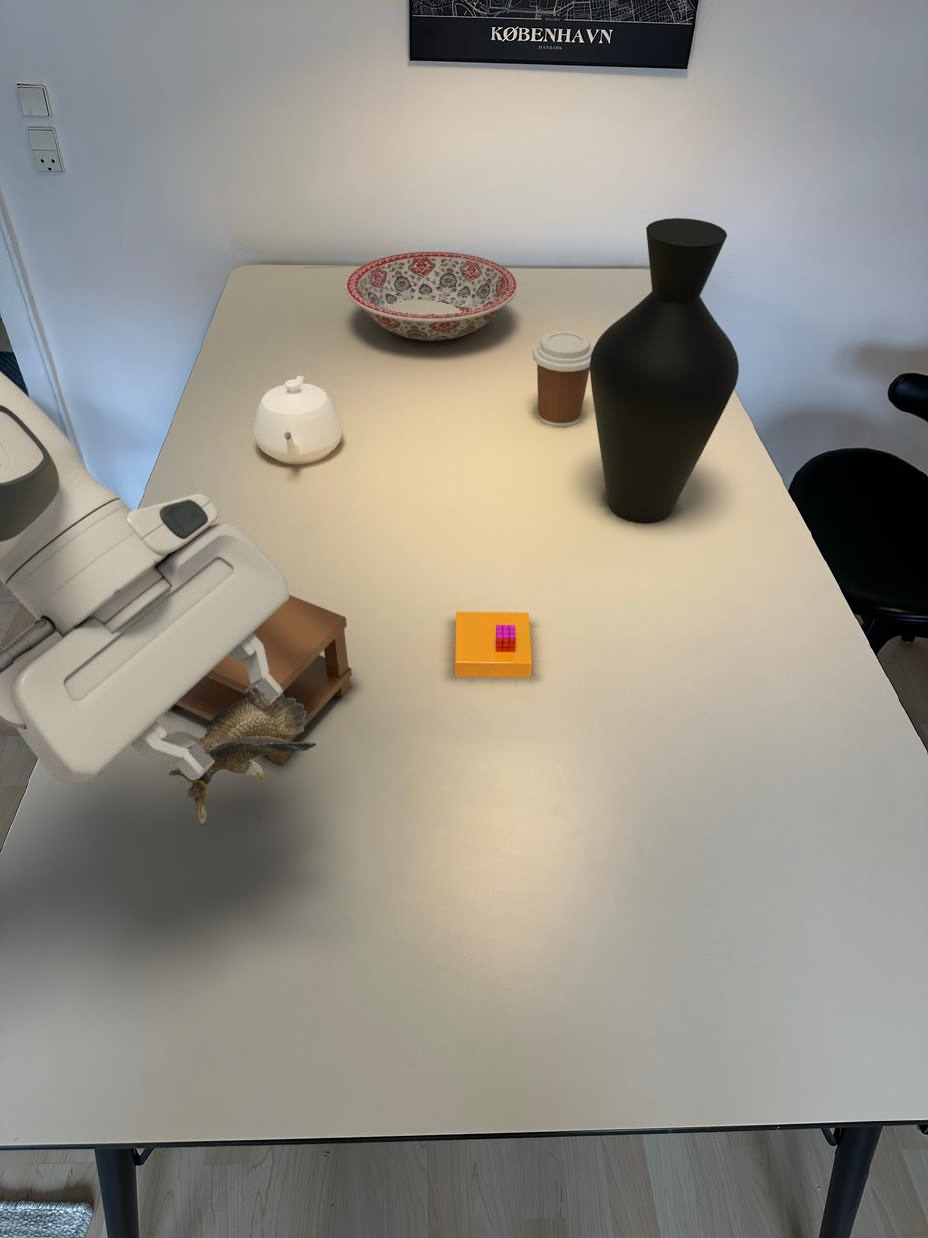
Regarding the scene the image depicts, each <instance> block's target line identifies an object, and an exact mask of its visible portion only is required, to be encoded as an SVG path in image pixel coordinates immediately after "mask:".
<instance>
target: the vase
mask: <svg viewBox="0 0 928 1238" xmlns="http://www.w3.org/2000/svg"><path fill="white" fill-rule="evenodd" d="M645 231H646V242H647V253H648V262H649V274H650V283H651V292H650V293H648V294H647V295H646V296H645V297H644V298H643V299H642V300H641V301H640V302H638V303H637V305H635V306H634V307H633V308H631V310H629V311H627V313H625V314H624V315H623V316H621V317H620V318H619V319H618V320H616V321H615V322H613V323H612V324H611V325H610V326H609V327H608V328H606V330H605V331H604V332H603V333H602V334H601V335H600V336H599V337H598V339H597V341H596V343H595V345H594V346H593V347H592V348H593V351H592V354H591V359H590V366H589V367H590V370H589V375H590V376H589V377H590V386H591V394H592V401H593V409H594V415H595V423H596V429H597V438H598V444H599V452H600V457H601V458H600V459H601V464H602V472H603V478H604V486H605V487H604V488H605V494H606V500H607V501H606V502H607V507H608V508H609V510H610V512H612V513H613V514H614V515H615V516H616V517H618V518H619V519H622V520H624V521H626V522H631V523H634V524H644V525H645V524H647V525H648V524H649V525H650V524H654V523H655V524H656V523H659V522H662V521H664V520H665V519H667V518H668V517H669V516H670V515H671V514H672V512H673V510H674V508H675V506H676V504H677V502H678V500H679V499H680V496H681V494H682V492H683V490H684V488H685V486H686V485H687V483H688V481H689V479H690V477H691V475H692V474H693V471H694V469H695V468H696V465H697V464H698V462H699V461H700V458H701V456H702V454H703V452H704V450H705V448H706V446H707V444H708V442H709V441H710V439H711V437H712V434H713V433H714V431H715V429H716V427H717V425H718V423H719V421H720V419H721V417H722V415H723V414H724V412H725V409H726V407H727V406H728V403H729V401H730V399H731V397H732V395H733V392H734V390H735V388H736V386H737V383H738V379H739V374H740V366H739V359H738V354H737V351H736V350H735V347H734V345H733V343H732V342H731V340H730V338H729V336H728V335H727V334H726V333H725V332H724V330H723V329H722V328H721V326H720V325H719V324H718V322H717V321H716V319H715V318H714V316H713V315H712V314H711V312H710V311H709V309H708V307H707V306H706V304H705V302H704V301H703V299H702V298H701V297H702V296H701V295H702V293H703V290H704V288H705V286H706V284H707V282H708V279H709V277H710V275H711V272H712V270H713V268H714V266H715V263H716V261H717V259H718V257H719V255H720V253H721V251H722V249H723V246H724V245H725V242H726V240H727V237H728V233H727V231H726V230H725V229H724V228H723V227H721V226H719V225H717V224H714V223H712V222H709V221H705V220H701V219H694V218H684V217H683V218H682V217H674V218H664V219H658V220H654V221H653V222H651V223H649V224H648V225H647V226H646V227H645Z"/></svg>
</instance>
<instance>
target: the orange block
mask: <svg viewBox="0 0 928 1238" xmlns="http://www.w3.org/2000/svg"><path fill="white" fill-rule="evenodd" d="M530 626H531V625H530V613H529V612H523V611H522V612H518V611H515V612H512V611H511V612H509V611H507V612H506V611H505V612H504V611H456V613H455V651H454V653H455V654H454V660H455V661H454V676H455V677H456V678H457V677H458V678H459V677H461V678H462V677H464V678H466V677H467V678H468V677H469V678H531V677H532V671H533V655H532V644H531V643H532V642H531V629H530V628H531V627H530Z"/></svg>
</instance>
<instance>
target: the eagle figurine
mask: <svg viewBox="0 0 928 1238" xmlns="http://www.w3.org/2000/svg"><path fill="white" fill-rule="evenodd" d="M295 701H296V700H295V699H294V698H284V695H283V694H281V695H280V696H279V697H278V699H277V700H275V701H274V702H273V703H272V704H271V705H270V706H269V707H266V708H265V709H260V708H258V707H257V706H256V705H255V704H254V700H252V699H250V698H249V697H246V698H244V699H242V700H240V701H239V702H236V703H235V704H233V705H231V706H229V707H228V708H225V709H223V710H222V711H220V712H219V713H218V714H216V715H215V717H214V718H213V719H212V720H210V721H209V723H208V725H207V729H206V733H205V734H204V737H200V738H199V737H197V736H195V735H193V734H192V733H190V732H187V731H185V730H183V731H182V730H179V731H176V732H173V733H171V734H167V736H166V737H165V738H164V739H162V741H165V742H168V743H171V744H174V745H177V746H180V747H183V748H187V747H189V746H191V745H192V746H193V745H194V744H196V743H198V742H199V743H200V744H201V745H202V746H203V747H204V748H205V750H206V754H210V755H211V756H212V757H213V759H214V761H215V762H214V764H213V765H212V766H211V767H210V768H209V769H208V770H207V771H206V772H205V773H204V774H203V775H202V776H201V777H200V778H199V779H196V780H194V781H192V780H190V779H188V778H187V777H186V776H185V775H184V774H183V773H182V772H181V771H180V770H179V769H178V767H177V766H176V769H173V770H171V771H169V773H168V775H169V776H172V777H173V776H181V777H182V778H183V779H185V780H187V781H188V782H191V783H192V786H191V787H190V788H189V789H188V790H187V796H188V797H190V798H192V799H193V800H194V804H195V806H196V810H197V813H198V815H197V818H198V822H199V825H201V826H203V825H204V824H205V822H206V820H207V817H208V814H207V811H206V803H205V799H206V797H207V791H208V785H209V784H210V782H211V781H212V778H213V775H215V774H216V773H218V772H219V771H221V770H227V771H228V772H232V773H236V774H243V775H250V776H255V777H258V778H259V779H260V780H263V779H265V773H264V772H263V769H262V766H260V764H259V763H257V762H255V761H253V759H254V758H257V757H262V756H268V755H272V754H279V753H282V752H286V751H291V752H304V751H308V750H310V749H312V748H314V747H315V746H316V745H317V743H316V742H309V741H298V742H296V741H292V742H288V741H286V740H283V739H279V738H275V737H274V736H278V735H280V736H281V735H290V734H298V735H299V734H302V733H304V732H305V727H304V728H303V726H304V725H305V724H306V720H305V719H304V717H305V716H306V714H307V712H306V711H305V710H303V708H304V706H303V705H302V704H301V703H296V702H295Z"/></svg>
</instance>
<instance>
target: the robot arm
mask: <svg viewBox="0 0 928 1238" xmlns="http://www.w3.org/2000/svg"><path fill="white" fill-rule="evenodd" d="M219 516H220V513H219V510H218V508H217V507H216V505H215V503H214V502H213V501H212V500H211V498H209V497H208V496H207V495H205V494H202V493H196V494H191V495H188V496H183V497H181V498H176V499H174V500H173V499H172V500H169V501H166V502H162V503H158V504H154V505H150V506H145V507H140V508H135V509H133V510H131V509H130V507H129V506H128V504H126V503H125V502H124V501H123V500H122V499H121V498H120V496H119V495H118V494H117V493H115V492H114V491H113V490H111V489H110V488H108V487H107V486H106V485H103V484H102V483H101V482H100V481H98V480H97V479H96V478H95V476H93V475H92V473H90V472H89V471H88V469H87V468H86V466H85V465H84V463H83V462H82V460H81V457H80V455H79V453H78V451H77V449H76V448H75V446H74V444H73V443H72V442H71V441H70V439H69V438H68V437H67V436H66V434H64V432H63V431H61V429H60V428H59V427H58V426H57V425H56V424H55V423H54V421H52V420H51V419H50V418H49V416H48V415H47V414H46V413H45V412H44V411H43V410H42V409H41V408H40V407H39V406H38V405H37V404H36V403H35V402H34V400H32V399H31V398H30V397H29V396H28V395H27V394H26V393H25V392H24V391H23V390H22V389H21V388H20V387H19V386H18V385H16V384H15V383H14V382H13V381H12V380H11V379H10V378H9V377H7V376H6V375H5V374H4V373H3V372H2V371H0V581H1V583H2V585H4V586H5V587H7V588H8V590H9V592H11V593H12V594H13V595H14V597H15V598H16V599H17V601H19V602H20V603H21V604H22V606H23V607H25V608H26V610H27V611H28V612H30V614H31V615H32V616H33V617H34V618H35V619H36V621H35V622H34V623H32V625H30V626H29V627H28V628H26V629H25V630H23V631H22V632H21V633H19V634H18V636H16V637H15V638H14V639H13V640H12V641H11V642H10V643H8V644H7V645H6V646H4V647H2V648H0V722H1V723H3V724H4V725H6V726H8V727H11V728H16V730H17V732H18V733H19V735H20V736H21V738H22V739H23V740H24V742H25V743H26V745H27V746H28V747H29V749H30V750H31V752H33V754H34V756H35V757H36V758H37V759H38V760H39V762H40V763H41V764H42V765H43V767H45V768H46V770H47V771H48V772H49V774H51V775H52V777H54V778H55V779H56V780H57V781H58V782H60V783H63V784H67V785H69V784H70V785H82V784H85V783H87V782H89V781H91V780H92V779H94V778H96V777H98V775H99V774H100V773H102V772H103V771H104V770H105V769H106V768H107V767H108V766H109V765H110V764H112V762H114V761H115V760H116V759H117V758H118V757H119V756H121V754H122V753H123V752H124V751H126V750H127V749H128V748H129V747H130V746H132V747H133V748H134V749H135V750H136V751H137V752H138V753H139V754H140V755H141V756H145V757H148V758H151V759H155V760H158V761H162V762H166V763H169V764H174V766H175V767H176V768H177V767H178V769H179V770H180V771H181V772H182V773H183V774H184V775H185V776H186V777H187V778H188V779H190V780H192V781H194V780H196V779H199V778H200V777H201V776H202V775H203V774H204V773H205V772H206V771H207V770H208V769H209V768H210V767H211V766H212V765H213V764H214V762H215V761H214V759H213V757H212V756H211V755H210V754H206V750H205V748H204V747H203V746H202V745H201V744H200V743H199V742H198V743H196V744H194V745H193V746H192V745H191V746H189V747H187V748H183V747H180V746H177V745H174V744H171V743H168V742H165V741H162V739H164V738H165V737H166V736H167V735H168V732H167V730H166V729H165V728H164V727H163V726H162V725H161V724H160V723H159V722H158V720H159V719H160V718H161V717H162V716H163V715H165V713H167V712H168V711H169V709H170V708H171V707H172V706H173V705H174V704H175V703H176V702H177V701H179V700H180V699H181V698H182V697H183V696H184V695H185V694H186V693H187V692H188V691H189V690H190V689H192V688H193V687H194V686H195V685H196V684H197V683H198V682H199V681H200V680H201V679H202V678H203V677H205V676H206V675H207V674H208V673H209V672H210V671H211V670H212V669H213V668H214V667H215V666H217V665H218V664H219V663H220V662H221V661H222V660H223V659H224V658H225V657H226V656H227V655H228V654H229V655H230V656H231V657H232V659H233V660H234V661H235V662H236V663H239V662H241V661H242V660H244V664H245V667H246V670H247V674H248V677H249V680H250V684H252V685H251V686H250V687H249V688H248V689H247V690H246V691H245V692H244V693H245V694H246V695H247V696H248V697H249V698H250V699H252V700H254V704H255V705H256V706H257V707H258V708H260V709H265V708H266V707H269V706H270V705H271V704H272V703H273V702H274V701H275V700H277V699H278V697H279V696H280V695H281V694H282V693H283V690H282V688H281V687H280V686H279V684H278V683H277V682H276V681H275V680H274V679H273V678H272V676H271V675H270V674H269V672H270V671H269V667H268V663H267V658H266V654H265V649H264V645H263V644H262V642H261V641H260V640H259V639H258V638H257V637H256V636H255V634H254V633H253V631H255V630H256V629H257V628H258V627H259V626H260V625H261V624H262V623H263V622H264V621H265V620H266V619H268V618H269V617H270V616H271V615H272V614H273V613H274V612H275V611H276V610H277V609H278V608H279V607H281V606H282V605H283V604H284V603H285V602H286V601H287V600H288V599H289V595H290V589H289V583H288V580H287V578H286V576H285V575H284V573H283V572H282V571H281V569H279V567H278V566H277V565H276V564H275V563H274V562H273V560H272V559H271V558H270V557H269V556H268V555H267V553H265V551H264V550H263V549H261V548H260V546H259V545H258V544H256V542H254V540H253V539H251V538H250V537H249V536H248V535H247V534H246V533H245V532H244V531H242V530H241V529H239V528H238V527H236V526H234V525H232V524H229V523H223V522H220V523H215V522H216V521H217V520H218V518H219ZM214 523H215V524H214ZM178 769H177V770H178Z"/></svg>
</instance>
